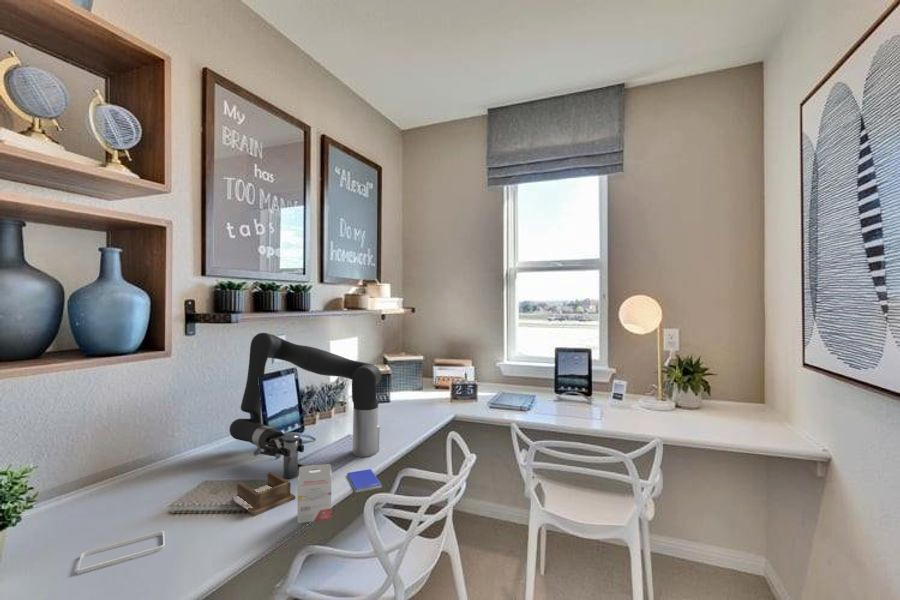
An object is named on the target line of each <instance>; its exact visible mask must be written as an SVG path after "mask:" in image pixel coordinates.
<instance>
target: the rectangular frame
mask: <svg viewBox="0 0 900 600" xmlns="http://www.w3.org/2000/svg"><path fill="white" fill-rule="evenodd" d="M159 536H162V545H159V546H156V547H153V548H149V549H145V550H142V551H139V552H135V553H131V554H128V555H125V556H121V557H117V558H114V559H111V560H108V561H103V562H101V563H100V562H99V563H96V564H93V565H89V566H85V567H82V568H80V567H81V564H82V563H81V562H82V561H83V559H84V557H86V556H87V557H88V556H89V555H93V554H97V553H101V552H104V551H108V550H111V549H115V548H119V547H122V546H127V545H130V544H134V543H137V542H140V541H144V540H148V539H151V538H152V539H153V538H155V537H159ZM165 539H166V538H165V531H164V530H163V531H158V532H154V533H149V534H146V535H143V536H138V537H134V538H131V539H127V540H125V541H121V542H120V541H119V542H116V543H113V544H109V545H105V546H100V547H97V548H94V549H90V550H87V551H84V552H82V553H80V557H79V561H78V564H77V569H76V574H77V575H80V574H79V573H81V574H83V572H85V573H87V572H86V571H88V572H90V571H89V570H92V571H95V570H98V569H97V568H99V569H101V568H100V567H102V568H104V567H103V566H106V567H108V566H107V565H109V566H112V565H116V564H118V563H121V562H126V561H129V559H130V560H132V558H134V557H137V556H139V555H143V554H147V553H150V552H153V551H154V552H155V553H157V552H160V551H162V550H164V549H166V547H165V545H166V541H165ZM82 558H83V559H82ZM115 563H116V564H115ZM111 564H112V565H111ZM94 569H95V570H94Z"/></svg>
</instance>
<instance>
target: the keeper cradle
mask: <svg viewBox="0 0 900 600" xmlns="http://www.w3.org/2000/svg"><path fill="white" fill-rule="evenodd" d="M267 484H268V486H270V487H272V488H270V489H267V490H265V491H262V492H259V493H258V492H256V491H255V490H253V488H251V487H250V486H248V485H246V484H245V483H243V482H242V481H240V482H237V485H236V486H237V488H236V489H237V492H236V496H239V497H240V498H242V499H243V500H244V501H246V502H247V503H248V504H250V505H251V506H252V507H253V508H248V510H249V511H247V512H249V514H251V515H252V516H254V517H255V516H257V515H259V514H262V513H265V512H267V511H269V510H272V509H274V508H277V507H279V506H281V505H284V504H287V503H288V502H290V501H291V502H292V501H293V500H295V499H296V495H294V494H293V493H291V490H292V489H291V487H292V486H291V485H292V484H291V481H289V480H287V479H286V478H284V477H283V476H281V475H278V474H276V473H274V472H272V471H269V472H267Z"/></svg>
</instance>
